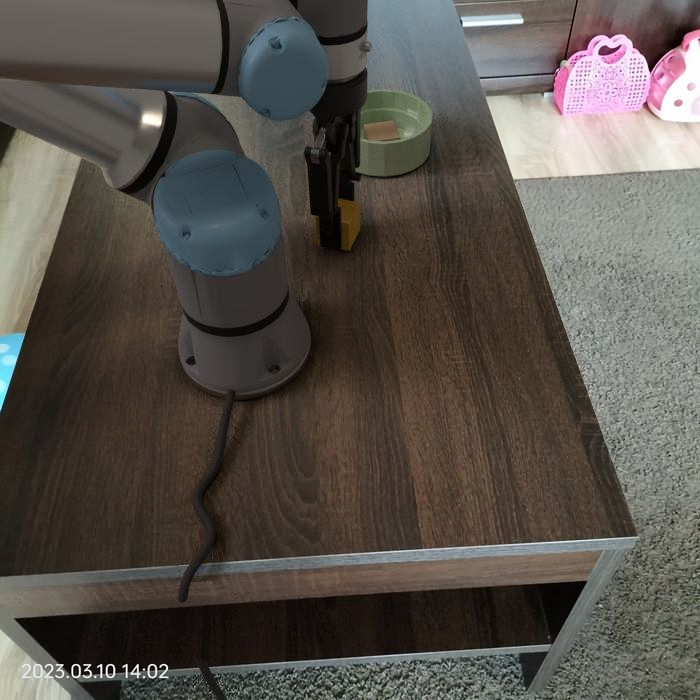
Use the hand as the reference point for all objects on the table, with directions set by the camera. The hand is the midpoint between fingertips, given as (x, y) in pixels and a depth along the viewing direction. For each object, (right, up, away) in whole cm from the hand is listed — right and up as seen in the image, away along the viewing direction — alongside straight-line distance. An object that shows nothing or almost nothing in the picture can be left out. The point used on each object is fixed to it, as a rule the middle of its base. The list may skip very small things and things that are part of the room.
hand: (337, 234), depth 96 cm
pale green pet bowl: (+7, +15, +14) cm, 22 cm away
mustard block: (0, 0, 0) cm, 0 cm away
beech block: (+6, +13, +12) cm, 19 cm away
